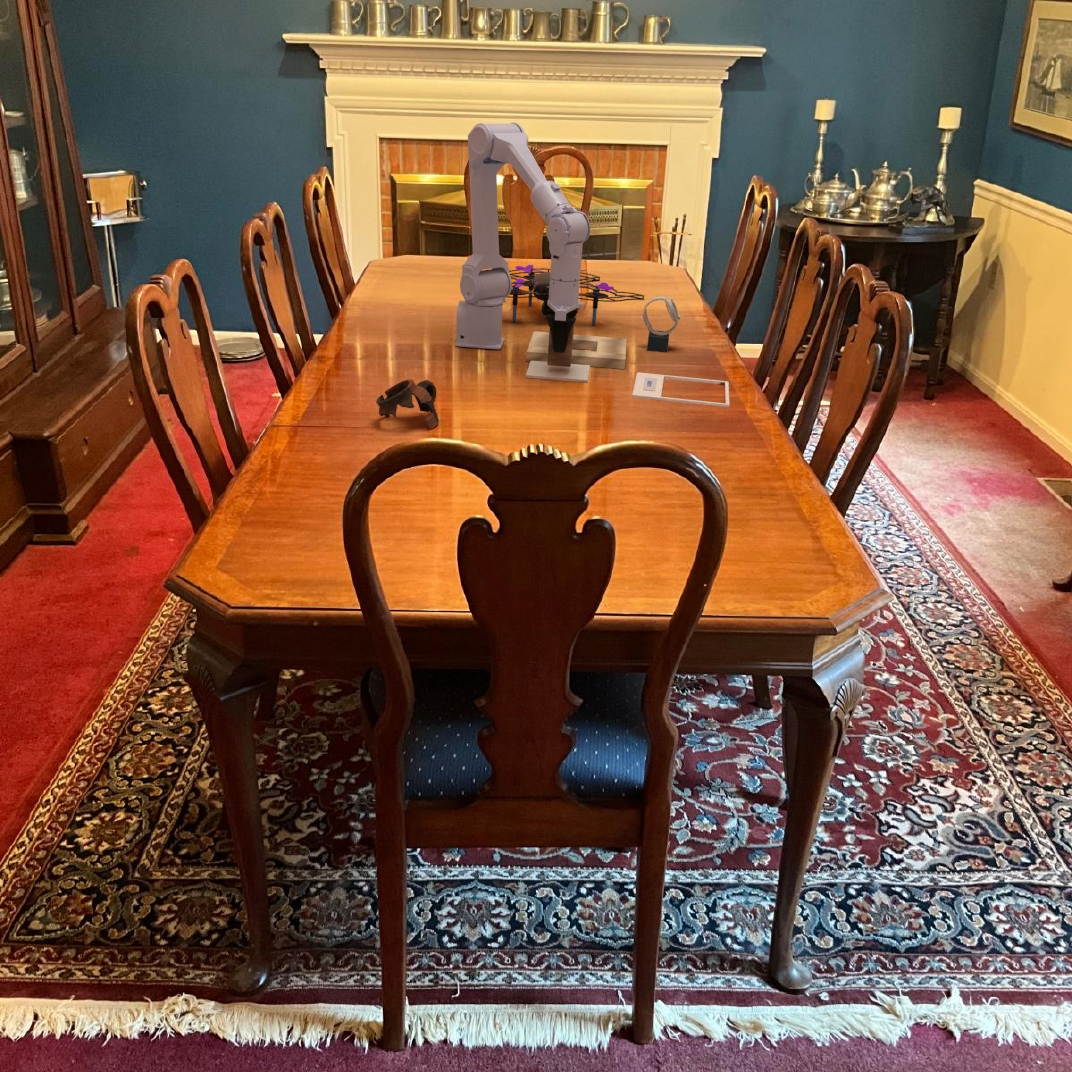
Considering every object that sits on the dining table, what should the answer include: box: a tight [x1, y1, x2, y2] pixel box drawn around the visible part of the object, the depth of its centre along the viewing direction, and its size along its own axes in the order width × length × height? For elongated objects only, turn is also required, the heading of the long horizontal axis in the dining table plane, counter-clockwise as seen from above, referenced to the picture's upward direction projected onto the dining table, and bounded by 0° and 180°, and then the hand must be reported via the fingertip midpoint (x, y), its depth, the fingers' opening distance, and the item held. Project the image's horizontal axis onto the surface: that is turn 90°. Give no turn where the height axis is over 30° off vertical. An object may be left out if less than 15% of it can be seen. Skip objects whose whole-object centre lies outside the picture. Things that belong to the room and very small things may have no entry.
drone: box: [507, 264, 646, 327], centre depth 250 cm, size 40×10×28 cm
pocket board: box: [525, 330, 627, 370], centre depth 222 cm, size 20×16×2 cm
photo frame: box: [631, 372, 730, 408], centre depth 204 cm, size 15×1×18 cm
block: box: [547, 324, 575, 367], centre depth 207 cm, size 4×4×8 cm
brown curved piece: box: [375, 379, 440, 431], centre depth 180 cm, size 12×10×8 cm
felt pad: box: [525, 361, 591, 383], centre depth 210 cm, size 12×10×1 cm
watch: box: [642, 295, 681, 353], centre depth 228 cm, size 6×8×11 cm
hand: (560, 348), depth 208 cm, fingers closed on block, 4 cm apart
